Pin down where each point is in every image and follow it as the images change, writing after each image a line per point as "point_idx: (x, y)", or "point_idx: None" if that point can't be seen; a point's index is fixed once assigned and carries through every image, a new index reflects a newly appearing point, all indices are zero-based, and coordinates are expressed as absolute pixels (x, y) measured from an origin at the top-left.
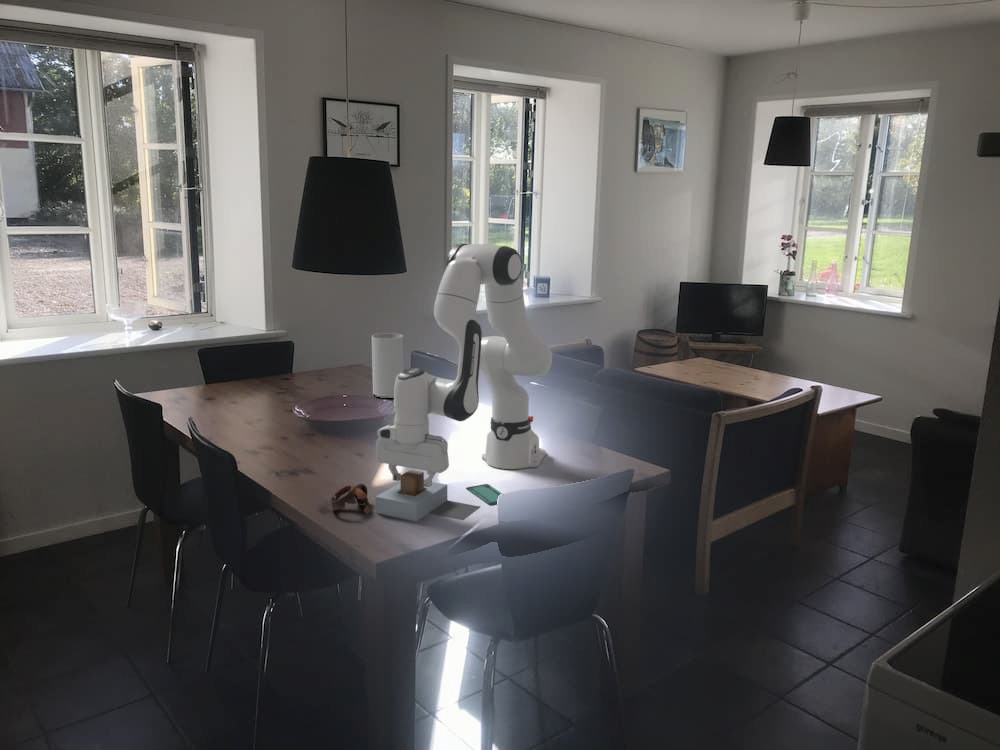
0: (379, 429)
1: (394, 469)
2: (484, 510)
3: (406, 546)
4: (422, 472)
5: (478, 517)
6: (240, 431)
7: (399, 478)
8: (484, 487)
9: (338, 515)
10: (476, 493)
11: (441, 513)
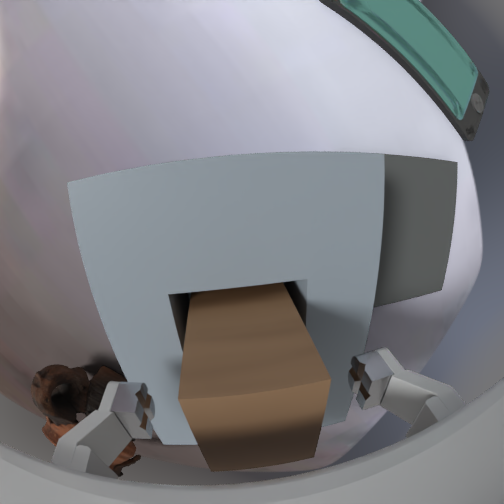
0: None
1: (102, 446)
2: (461, 169)
3: (350, 434)
4: (323, 388)
5: (461, 230)
6: None
7: (145, 398)
8: None
9: None
10: (395, 41)
11: (376, 290)
